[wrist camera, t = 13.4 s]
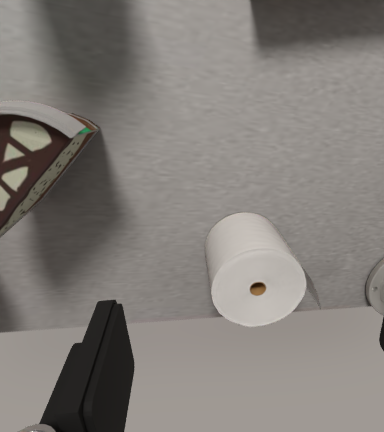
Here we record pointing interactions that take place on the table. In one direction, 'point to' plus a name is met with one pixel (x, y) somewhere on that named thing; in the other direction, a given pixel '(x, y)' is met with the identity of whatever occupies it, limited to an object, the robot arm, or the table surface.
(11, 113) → the food container
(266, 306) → the toilet tissue
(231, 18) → the table surface
